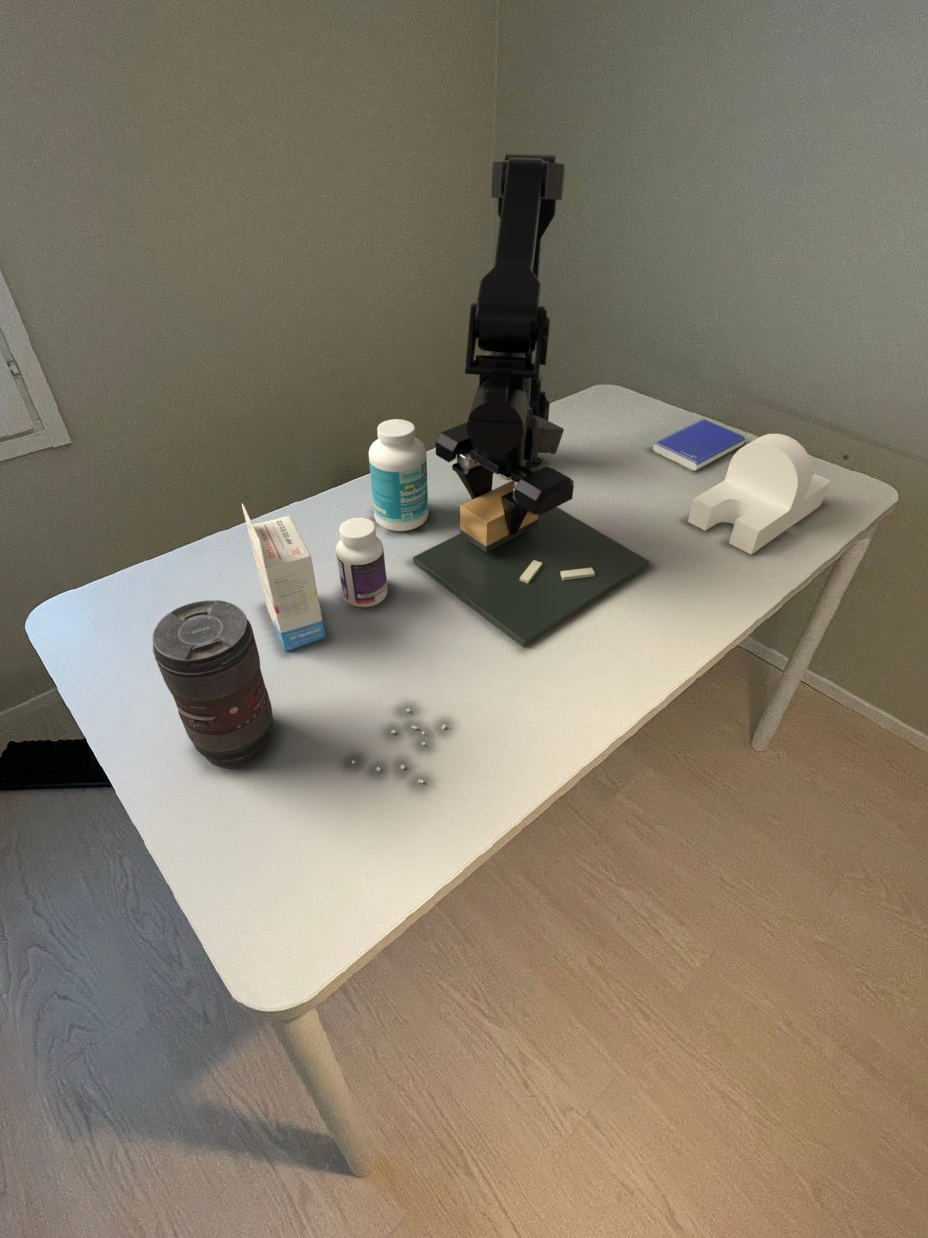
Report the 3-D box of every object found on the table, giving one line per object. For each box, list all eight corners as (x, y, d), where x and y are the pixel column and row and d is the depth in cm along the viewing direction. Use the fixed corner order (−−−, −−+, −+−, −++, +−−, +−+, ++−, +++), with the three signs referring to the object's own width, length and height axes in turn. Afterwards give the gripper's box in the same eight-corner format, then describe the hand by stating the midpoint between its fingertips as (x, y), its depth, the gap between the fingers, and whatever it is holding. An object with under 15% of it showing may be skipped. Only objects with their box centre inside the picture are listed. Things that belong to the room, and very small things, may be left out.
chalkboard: (413, 563, 89) (412, 557, 89) (536, 500, 100) (536, 494, 99) (523, 647, 78) (523, 641, 77) (648, 567, 89) (650, 561, 88)
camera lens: (293, 749, 68) (263, 638, 58) (210, 788, 65) (163, 677, 54) (262, 696, 73) (230, 584, 63) (184, 730, 70) (137, 618, 59)
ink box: (328, 639, 79) (308, 531, 69) (284, 653, 77) (258, 544, 67) (306, 594, 85) (285, 489, 75) (265, 607, 83) (238, 500, 73)
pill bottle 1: (396, 586, 86) (390, 520, 79) (373, 613, 82) (365, 546, 76) (357, 575, 87) (349, 509, 81) (334, 601, 84) (323, 534, 77)
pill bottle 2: (409, 539, 93) (403, 447, 84) (363, 523, 96) (353, 432, 86) (439, 512, 98) (436, 422, 89) (394, 497, 100) (387, 408, 91)
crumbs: (390, 703, 72) (390, 702, 72) (454, 724, 70) (454, 723, 70) (351, 762, 66) (351, 762, 66) (420, 787, 64) (420, 787, 64)
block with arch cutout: (750, 555, 91) (776, 480, 83) (687, 521, 96) (706, 448, 89) (822, 504, 99) (851, 432, 92) (760, 476, 105) (783, 406, 97)
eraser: (460, 535, 90) (459, 505, 87) (511, 509, 95) (512, 480, 92) (486, 553, 87) (487, 523, 84) (537, 525, 92) (540, 496, 89)
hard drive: (697, 462, 105) (746, 436, 110) (654, 441, 109) (702, 417, 115) (695, 471, 106) (743, 445, 112) (652, 450, 110) (700, 426, 116)
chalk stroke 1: (528, 583, 85) (528, 580, 84) (519, 580, 85) (519, 577, 85) (542, 565, 87) (542, 562, 87) (533, 562, 88) (533, 559, 87)
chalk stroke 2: (563, 580, 85) (563, 577, 85) (560, 574, 86) (560, 571, 86) (594, 576, 86) (595, 573, 85) (591, 570, 87) (591, 567, 86)
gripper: (614, 417, 78) (596, 532, 89) (499, 365, 89) (496, 473, 99) (543, 450, 73) (533, 568, 84) (430, 390, 83) (434, 502, 94)
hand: (499, 524), depth 90 cm, fingers closed on eraser, 5 cm apart
